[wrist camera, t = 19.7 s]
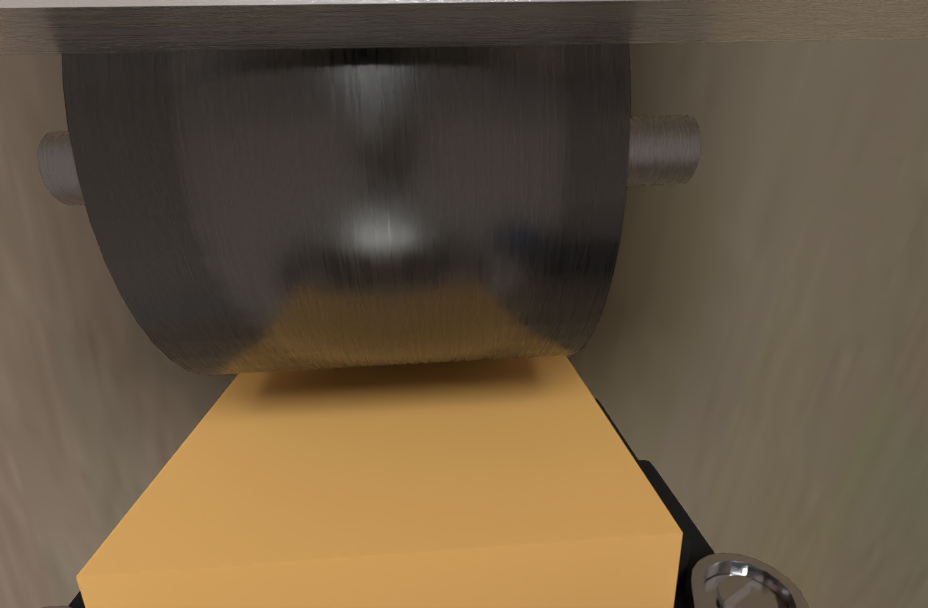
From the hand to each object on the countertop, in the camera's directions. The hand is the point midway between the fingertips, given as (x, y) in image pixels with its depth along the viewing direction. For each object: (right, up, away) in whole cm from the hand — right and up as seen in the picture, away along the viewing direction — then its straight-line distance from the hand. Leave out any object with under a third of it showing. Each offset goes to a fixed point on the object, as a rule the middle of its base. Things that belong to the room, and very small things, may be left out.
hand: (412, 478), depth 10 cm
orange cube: (0, 0, +1) cm, 1 cm away
